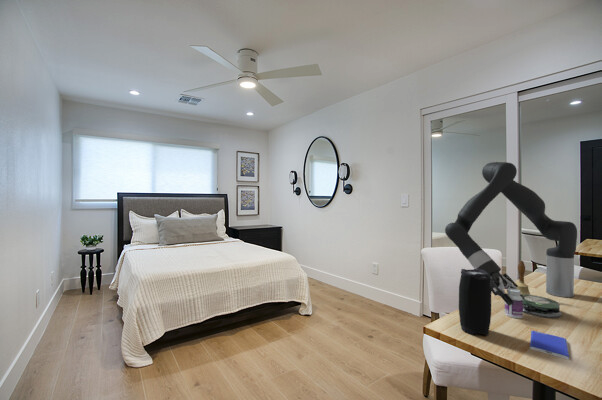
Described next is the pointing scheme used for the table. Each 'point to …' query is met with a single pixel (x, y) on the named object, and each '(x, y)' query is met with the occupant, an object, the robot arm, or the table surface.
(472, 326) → the portable speaker
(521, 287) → the hand bell
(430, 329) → the table surface
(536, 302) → the levelling base
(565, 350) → the hard drive
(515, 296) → the pill bottle
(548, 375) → the table surface
